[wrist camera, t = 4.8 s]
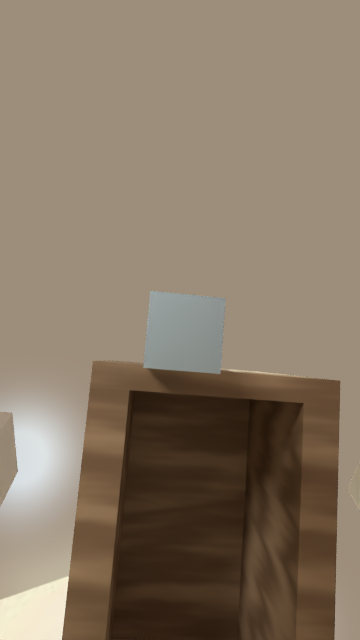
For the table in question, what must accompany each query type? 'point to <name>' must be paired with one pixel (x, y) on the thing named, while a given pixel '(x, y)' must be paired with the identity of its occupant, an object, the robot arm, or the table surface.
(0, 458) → the robot arm
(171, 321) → the rod
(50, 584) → the table surface
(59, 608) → the table surface
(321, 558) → the shelf
